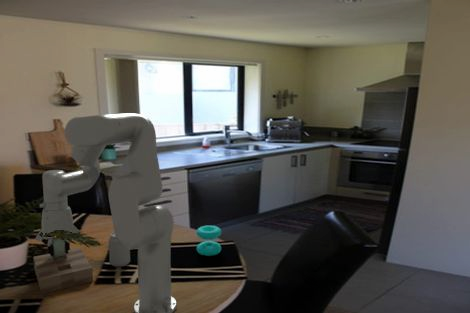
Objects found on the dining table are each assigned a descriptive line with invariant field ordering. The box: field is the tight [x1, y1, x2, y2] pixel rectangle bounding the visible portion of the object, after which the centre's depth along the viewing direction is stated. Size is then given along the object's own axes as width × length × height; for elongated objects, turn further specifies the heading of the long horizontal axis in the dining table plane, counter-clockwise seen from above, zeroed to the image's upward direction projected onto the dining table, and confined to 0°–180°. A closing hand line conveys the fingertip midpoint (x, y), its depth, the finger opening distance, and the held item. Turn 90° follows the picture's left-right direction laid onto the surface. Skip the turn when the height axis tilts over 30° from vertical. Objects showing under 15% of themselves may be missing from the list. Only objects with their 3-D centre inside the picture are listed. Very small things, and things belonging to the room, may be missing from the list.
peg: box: [51, 238, 66, 260], centre depth 140 cm, size 4×4×12 cm
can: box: [108, 231, 131, 268], centre depth 146 cm, size 8×8×12 cm
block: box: [32, 247, 94, 295], centre depth 137 cm, size 20×16×5 cm
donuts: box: [196, 225, 222, 257], centre depth 158 cm, size 10×10×10 cm
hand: (59, 253), depth 140 cm, fingers closed on peg, 4 cm apart
